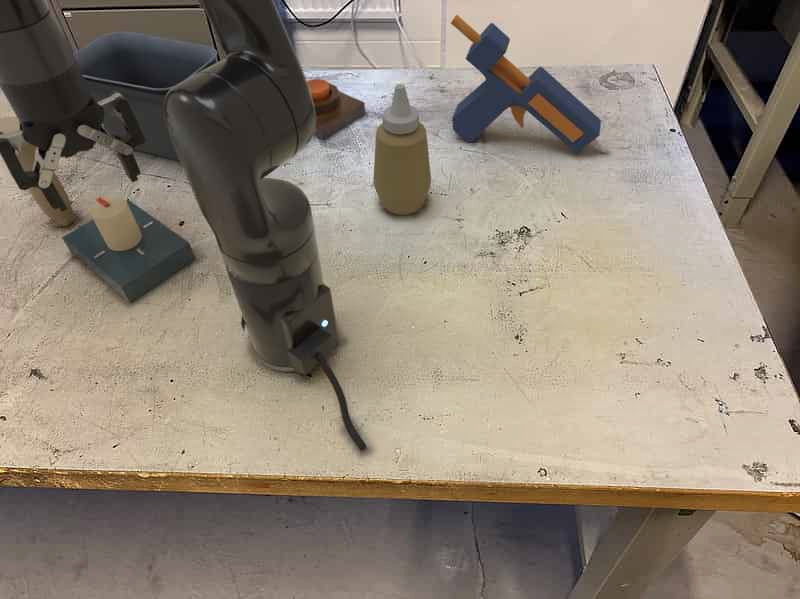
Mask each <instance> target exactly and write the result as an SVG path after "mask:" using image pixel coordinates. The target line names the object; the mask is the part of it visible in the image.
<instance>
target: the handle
mask: <svg viewBox="0 0 800 599" xmlns="http://www.w3.org/2000/svg"><path fill="white" fill-rule="evenodd" d="M16 130H20V122H19V119H18V117H17V116H4V117H1V118H0V132H2V133H4V134H6V133H9V132H13V131H16ZM21 148H22V151H21V153H20V154H18V155H16V156H17V158H18V160H19V162H20V164H21V166H22V168H23V170H24V172H25V171H32V169H33V166H34V162H35V151H36V146H34V145H32V144H29V143H28V142H26V141H24V142H23V143H22V144H21ZM51 181H52V183H53V184H54V186H55V188H56V189H57V191H58V193H59V195H60V196H61V198H62V200H63V202H64V203H65V205H66V207H67V210H65V211H63V212H62V211H61V210H60V208H57V209H54V208H52V207H51V206H50V204H49V202H48V201H47V199H46V198H45V196H44V194H43V193H42V191H41V189H40V188H37V187H30V188H29V189H28V191H29V193H30V195H31V196H32V198H33V199H34V201H35V203H36V204H37V205H38V207H39V208H40V210H41V211H42V212H43V214H45V216H46V217H47V218H48V219H49V221H50V222H51V223H52V225H53V226H54V227H58V228H59V227H68V226H70V225H71V224H72V223H73V222H75V221H76V220H77V219H76V214H75V211H74V209H73V205H72V202H71V200H70V198H69V196H68V194H67V192H66V190H65V188H64V186H63V184H62V183H61V181H60V179H59V178H58V176H57V174H56V173H55V172H54V173H53V177H52V180H51Z"/></svg>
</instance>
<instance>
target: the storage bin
mask: <svg viewBox="0 0 800 599" xmlns="http://www.w3.org/2000/svg"><path fill="white" fill-rule="evenodd" d="M72 53H73V55H74V57H75V59H76V62H77V64H78V66H79V68H80V71H81V73H82V75H83V77H84V79H85V82H86V84H87V86H88V88H89V91H90V93H91V95H92V97H93V99H94V100H95V101H97V102H99V101H101V100H103V99H106V98H108V97H109V94H110V92H111V91H114V90H115V91H118V92H119V93H120V94H121V95H122V96H123V97H124V98H125V99H126V100H127V102H128V104H129V106H130V108H131V110H132V112H133V114H134V116H135V118H136V120H137V122H138V125H139V127H140V129H141V131H142V133H143V135H144V137H145V143H144V144H143V145H137V146H136V147H135V148H134V150H133V151H139V152H142V153H146V154H150V155H151V154H152V155H155V156H159V157H163V158H166V159H171V160H176V161H179V162H180V160H179V158H178V156H177V153H176V151H175V149H174V146H173V144H172V141H171V139H170V136H169V133H168V130H167V127H166V123H165V118H164V99H165V96H166V94H167V92H168V91H169V90H170V89H171V88H172V87H174V86H175V85H177V84H178V83H180V82H182V81H184V80H185V79H187V78H189V77H191V76H193V75H194V74H197V73H198V72H200V71H202V70H204V69H206V68H208V67H210V66H212V65H213V64H215V63H217V62H218V61H217V59H216V58H217V56H218V55H219V54H218V51H217V49H215V48H214V47H211V46H209V45H203V44H198V43H192V42H186V41H182V40H176V39H171V38H165V37H161V36H155V35H150V34H149V35H148V34H144V33H143V34H142V33H138V32H131V31H114V32H110V33H107V34H104V35H101V36H100V37H98V38H96V39H94V40H93V41H91V42H89V43H88V44H86V45H85V46H83V47H81V48H80V49H78V50H76V51H75V52H72ZM104 114H105V115H104V119H103V123H102V126H103V127H105V128H107V129H108V130H109V131H111V132H113V133H115V134H117V135H119V136H120V137H122V136H123V135H125V134H126V133H127V132H126V130H125V128H124V126H123V124H122V122H121V120H120V118H119V117H114V116H113V115H112V114H111V113H110V112H104Z"/></svg>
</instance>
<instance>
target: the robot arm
mask: <svg viewBox="0 0 800 599" xmlns="http://www.w3.org/2000/svg"><path fill="white" fill-rule="evenodd" d="M197 1H198V3H199V4H200V6H201V8H202V10H203V11H204V13H205V15H206V17H207V19H208V21H209V23H210V25H211V27H212V29H213V31H214V34H215V36H216V38H217V40H218V43H219V46H220V49H221V52H222V55H223V59H221V60H219V61H217V63H215V64H213V65H212V66H210V67H208V68H206V69H204V70H202V71H200V72H198V73H197V74H194V75H193V76H191V77H189V78H187V79H185V80H184V81H182V82H180V83H178V84H177V85H175V86H174V87H172V88H171V89H170V90H169V91H168V92H167V94H166V96H165V99H164V118H165V123H166V127H167V130H168V133H169V136H170V139H171V141H172V144H173V146H174V149H175V151H176V153H177V156H178V158H179V160H180V161H179V160H178V161H179V162H180V164H181V166H182V169H183V172H184V173H185V176H186V178H187V181H188V183H189V185H190V188H191V190H192V194H193V196H194V198H195V200H196V202H197V205H198V208H199V209H200V212H201V213H202V216H203V217H204V219H205V220H206V222H207V224H208V226H209V227H210V229H211V231H212V232H213V234H214V237H215V239H216V243H217V246H218V249H219V251H220V255H221V257H222V260H223V264H224V266H225V270H226V272H227V275H228V277H229V281H230V284H231V287H232V290H233V292H234V296H235V298H236V301H237V304H238V307H239V310H240V313H241V320H240V325H241V328H242V331H243V332H245V328H246V331H247V333H248V335H249V339H250V341H251V347H252V350H253V353H254V355H255V357H256V358H257V360H258V361H259V362H260V363H261V364H263V366H265V367H267V368H269V369H271V370H274V371H278V372H285V373H286V372H287V373H289V372H294V373H296V374H298V375H299V376H307V375H308V374H309V372H311V371H312V370H313V369H315V367H316V366H318V365H319V366H320V367H321V369H322V370H323V372H324V374H325V375H326V378H327V379H328V381H329V383H330V384H331V386H332V388H333V390H334V393H335V395H336V397H337V400H338V404H339V409H340V413H341V418H342V422H343V424H344V427H345V429H346V431H347V433H348V434H349V436H350V437H351V439H352V440H353V442H354V443H355V445H356V446H357V447H358V449H359V451H364V450H366V449H367V448H368V446H367V444H366V443H365V441H364V440H363V439H362V437H361V436H360V434H359V433H358V432H357V430H356V428H355V426H354V423H353V422H352V419H351V416H350V413H349V408H348V402H347V399H346V396H345V393H344V390H343V389H342V386H341V384H340V383H339V380H338V377H336V374H335V373H334V371H333V370H332V368H331V367H330V365H329V363H328V361H327V360H326V358H327V357H328V356H329V355H330V354H331V353H332V352H333V351H334V350H335V347H336V346H338V345H339V344H340V339H339V332H338V326H337V319H336V313H335V308H334V307H335V306H334V302H333V294H332V289H331V287H329V286H328V285H326V284H325V281H324V275H323V269H322V263H321V258H320V252H319V246H318V240H317V236H316V235H317V234H316V227H315V223H314V217H313V211H312V206H311V203H310V200H309V198H308V196H307V195H306V193H305V192H304V191H303V190H302V189H301V188H300V187H299V186H297V185H295V184H293V183H291V182H289V181H287V180H284V179H280V178H271V177H267V176H268V175H270V174H271V173H273V172H274V171H275V170H277V169H278V168H280V167H281V166H283V165H284V164H285V163H287V162H288V161H290V160H291V159H294V157H295V156H297V155H298V154H299V153H301V152H302V151H303V150H304V149H306V148H307V146H309V144H310V143H311V142H312V140H314V139H313V138H314V137H315V136H314V134H315V129H316V115H315V109H314V104H313V100H312V96H311V92H310V89H309V86H308V83H307V81H308V80H307V78H306V75H305V73H304V70H303V68H302V66H301V63H300V60H299V58H298V56H297V54H296V51H295V49H294V46H293V44H292V41H291V39H290V37H289V34H288V31H287V29H286V27H285V24H284V22H283V20H282V18H281V15H280V13H279V11H278V7H277V6H276V3H275V1H274V0H197ZM73 53H74V52H73V50H72V48H71V46H70V44H69V42H68V40H67V37H66V35H65V33H64V31H63V29H62V27H61V25H60V23H59V22H58V21H57V18H56V17H55V16H54V14H53V12H52V10H51V8H50V6H49V4H48V2H47V0H0V89H1V91H2V93H3V94H4V96H5V98H6V101H7V102H8V103H9V105H10V107H11V109H12V110H13V112H14V114H15V117H18V119H19V122H20V130H16V131H13V132H9V133H6V134H4V133H2V132H0V156H1V158H2V160H3V162H4V164H5V166H6V168H7V170H8V171H9V173H10V175H11V177H12V178H13V180H14V182H15V183H16V185H17V187H18V188H19V190H21V191H27V190H28V191H29V188H30V187H37V188H40V189H41V191H42V193H43V194H44V196H45V198H46V199H47V201H48V202H49V204H50V206H51V207H52V208H54V209H57V208H60V210H61V211H62V212H63V211H65V210H67V207H66V205H65V203H64V202H63V200H62V198H61V196H60V195H59V193H58V191H57V189H56V188H55V186H54V184H53V183H52V181H51V180H52V177H53V173H55V172H56V171H57V169H58V166H59V163H60V158H65V159H69V158H70V157H74V156H75V155H77V154H78V153H80V152H87V151H89V150H92V149H94V148H95V147H94V146H95V145H97V144H99V145H101V146H103V147H105V148H107V149H110V150H114V151H115V153H116V155H117V156H118V159H119V161H120V164H121V166H122V169H123V170H124V172H125V174H126V176H127V177H128V179H129V180H130V181H131V182H132V183H135V182H137V181H139V178H138V176H140V175H141V169H140V167H139V164H138V162H137V159H136V157H135V154H134V151H135V150H134V148H135V147H136V146H137V145H143V144H144V143H145V137H144V135H143V133H142V131H141V129H140V127H139V125H138V122H137V120H136V118H135V116H134V114H133V112H132V110H131V108H130V106H129V104H128V102H127V100H126V99H125V98H124V97H123V96H122V95H121V94H120V93H119V92H118V91H115V90H114V91H111V92H110V94H109V97H108V98H106V99H103V100H101V101H99V102H97V101H95V100H94V99H93V97H92V95H91V93H90V91H89V88H88V86H87V84H86V82H85V79H84V77H83V75H82V73H81V71H80V68H79V66H78V64H77V62H76V59H75V57H74V55H73ZM104 112H110V113H111V114H112V115H113V116H114V117H119V118H120V120H121V122H122V124H123V126H124V128H125V130H126V132H127V133H126V134H125V135H123V136H122V137H120V136H119V135H117V134H115V133H113V132H111V131H109V130H108V129H107V128H105V127H104V125H103V124H102V123H103V119H104V115H105V114H104ZM24 141H26V142H28V143H29V144H32V145H34V146H36V151H35V162H34V166H33V169H32V171H25V172H24V170H23V168H22V166H21V164H20V162H19V160H18V158H17V156H16V155H18V154H20V153H21V151H22V148H21V144H22V143H23V142H24Z"/></svg>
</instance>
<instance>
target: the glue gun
mask: <svg viewBox="0 0 800 599" xmlns="http://www.w3.org/2000/svg"><path fill="white" fill-rule="evenodd" d="M450 25H452V26H453V27H454V28H455V29H456V30H457V31H459V32H460V34H462V35H463V36H464V37H465V38H467V39H468V40H469V41H470V42H471V45H470V47H469V49H468V51H467V54H466V57H465V60H466V61H467V62H468V63H469V64H470V65H472V66H473V67H474V68H475V69H476V70H478V72H480V73H481V74H482V76H483V77H484V78H485V80H484V81H483V82H482V83H480V84H479V85H478V86H477V87H476V88H475V89H474V90H472V91H471V92H470V93H469V94H468V95H467V96H465V97H464V98H463V99H462V100H461V101H459V103H457V105H456V107H455V111H454V112H453V115H452V117H451V121H452V130H453V132H455V133H456V134H458V135H459V136H460V137H461V138H462V139H463V140H465V141H466V142H467V143H472V142H474V141H475V140H476V139H477V138H478V137H479V136H480V135H481V134H483V132H484V131H485V130H486V129H487V128H488V127H489V126H490V125H491V124H492V123H493V122H495V121H496V119H498V118H499V117H500V116H501V115H502V114H503V113H504V112H505V111H507V110H508V109H510V113H511V114H512V116H513V118H514V120H515V121H516V123H517V124H518V126H519V127H520V128H521V129H524V126H525V124H524V120H525V119H524V118H525V114H526V112H528V113H529V114H530V115H531V116H532V117H533V118H534V119H535V120H537V121H538V122H539V123H540V124H541V125H543V126H544V127H545V128H546V129H547V130H549V132H551V133H552V134H553V135H554V136H555V137H556V138H558V140H560V141H561V142H562V143H564V144H565V145H566V146H567V147H569V149H571V150H572V151H573V152H574V153H576V154H579V153H580V151H582V150H583V149H584V148H585V147H587V146H588V145H591V146H592V147H594V148H595V149H597V150H598V151H600V152H602V153H604V154H607V151H606V150H605V149H604V147H603V146H602V144H601V143H600V142H599V141H598V139H597V138H598V137H599V136H600V133H601V123H602V120H601V118H599V117H598V115H596V114H595V113H594V112H593V111H592V110H591V109H589V108H588V106H586V105H585V104H584V103H583V102H581V100H579V99H578V98H577V97H576V96H575V95H574V94H573V93H572V92H571V91H570V90H568V89H567V88H566V87H565V86H564V85H563V84H562V83H560V82H559V81H558V80H557V79H556V78H555V77H554V76H553V75H552V74H551V73H549V72H548V71H547V70H546V69H545V68H544V67H542V66H539V67H537V68H536V69H535V71H533V72H532V73H531V75H529V76H527V75H526V74H525V73H524V72H522V70H520V68H518V67H517V66H515V65H514V63H512V62H511V61H510V60H509V59H508V58H506V56H504V55H505V54H506V53H507V50H508V47H509V45H510V41H511V38H510V37H509V36H508V35H507V34H506V33H504V32H503V30H501V29H500V28H499V27H498V26H497V25H495V24H494V22H490V23H489V24H488V25H487V27H485V29H484V30H483V31H482V32H481V33H478V32H477V30H475V29H474V28H473V27H471V26H470V25H469V24H468V23H467V22H466V21H465V20H464V19H462V18H461V16H459V15H458V14H456V15H455V16H454V17H453V19H452V20H451V22H450Z"/></svg>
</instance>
